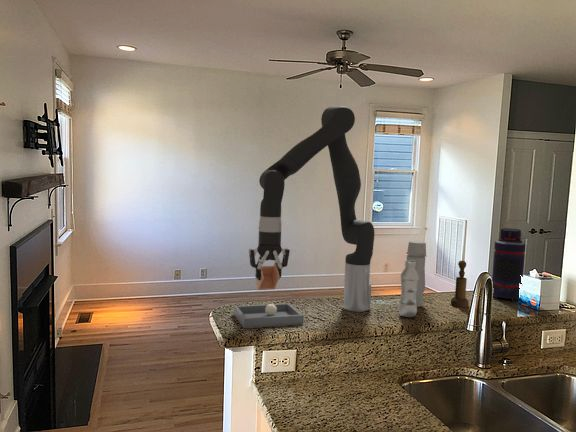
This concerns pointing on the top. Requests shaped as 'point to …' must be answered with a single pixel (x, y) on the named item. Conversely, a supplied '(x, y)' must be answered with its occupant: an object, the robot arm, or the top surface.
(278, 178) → the robot arm
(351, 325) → the top surface
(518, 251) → the striped lidded canister
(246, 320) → the tray
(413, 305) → the plastic bottle
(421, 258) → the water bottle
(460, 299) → the wooden pepper mill
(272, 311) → the ball
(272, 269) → the scoop cup
